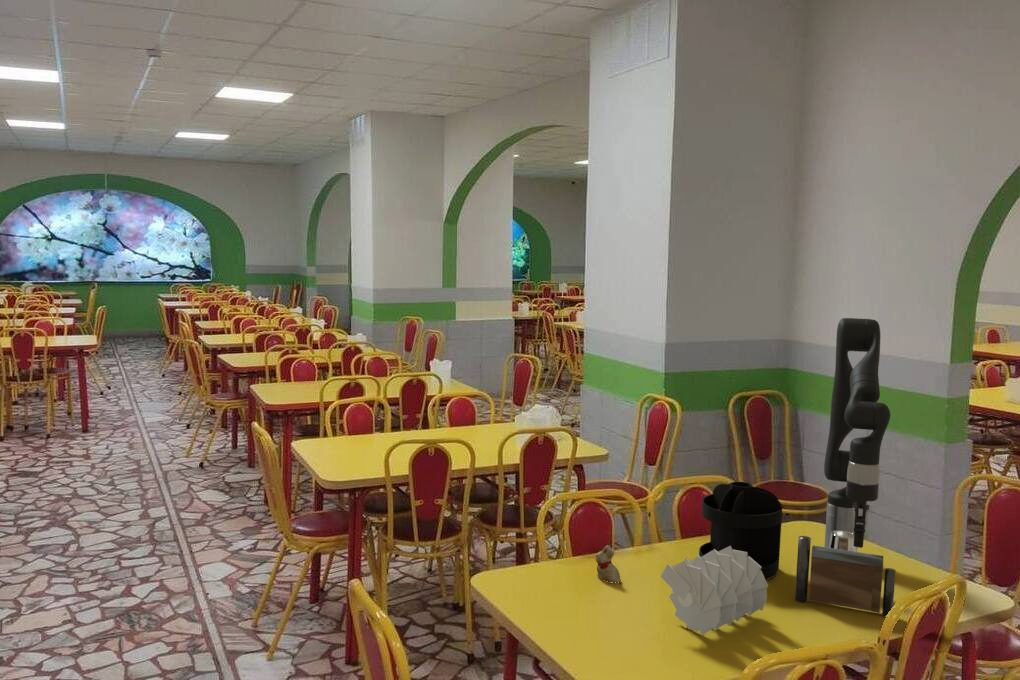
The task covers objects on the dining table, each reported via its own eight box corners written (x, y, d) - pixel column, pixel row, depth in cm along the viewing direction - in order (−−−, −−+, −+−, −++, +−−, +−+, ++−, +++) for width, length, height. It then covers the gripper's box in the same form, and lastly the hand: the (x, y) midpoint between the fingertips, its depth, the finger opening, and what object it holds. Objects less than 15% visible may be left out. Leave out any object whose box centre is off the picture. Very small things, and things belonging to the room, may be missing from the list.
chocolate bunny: (611, 573, 240) (613, 538, 239) (622, 583, 233) (624, 548, 232) (593, 574, 239) (594, 540, 238) (604, 585, 231) (605, 549, 230)
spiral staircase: (756, 631, 214) (696, 654, 198) (706, 582, 226) (645, 600, 210) (790, 576, 207) (730, 595, 191) (737, 528, 219) (676, 543, 203)
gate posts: (795, 597, 226) (799, 535, 225) (892, 614, 217) (896, 549, 215) (794, 601, 223) (798, 538, 222) (892, 618, 214) (897, 553, 213)
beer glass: (855, 593, 230) (859, 539, 229) (828, 590, 232) (832, 536, 230) (851, 583, 237) (854, 531, 236) (824, 581, 238) (828, 528, 237)
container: (744, 551, 261) (748, 471, 258) (793, 578, 240) (799, 492, 237) (682, 559, 253) (686, 476, 251) (727, 587, 232) (732, 498, 229)
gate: (809, 596, 225) (812, 545, 223) (879, 609, 218) (883, 555, 217) (808, 600, 222) (811, 548, 221) (879, 613, 215) (883, 559, 214)
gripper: (847, 471, 224) (844, 532, 225) (845, 484, 211) (841, 548, 212) (879, 475, 221) (874, 536, 222) (878, 488, 208) (874, 552, 209)
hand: (858, 542), depth 217 cm, fingers open, 8 cm apart
